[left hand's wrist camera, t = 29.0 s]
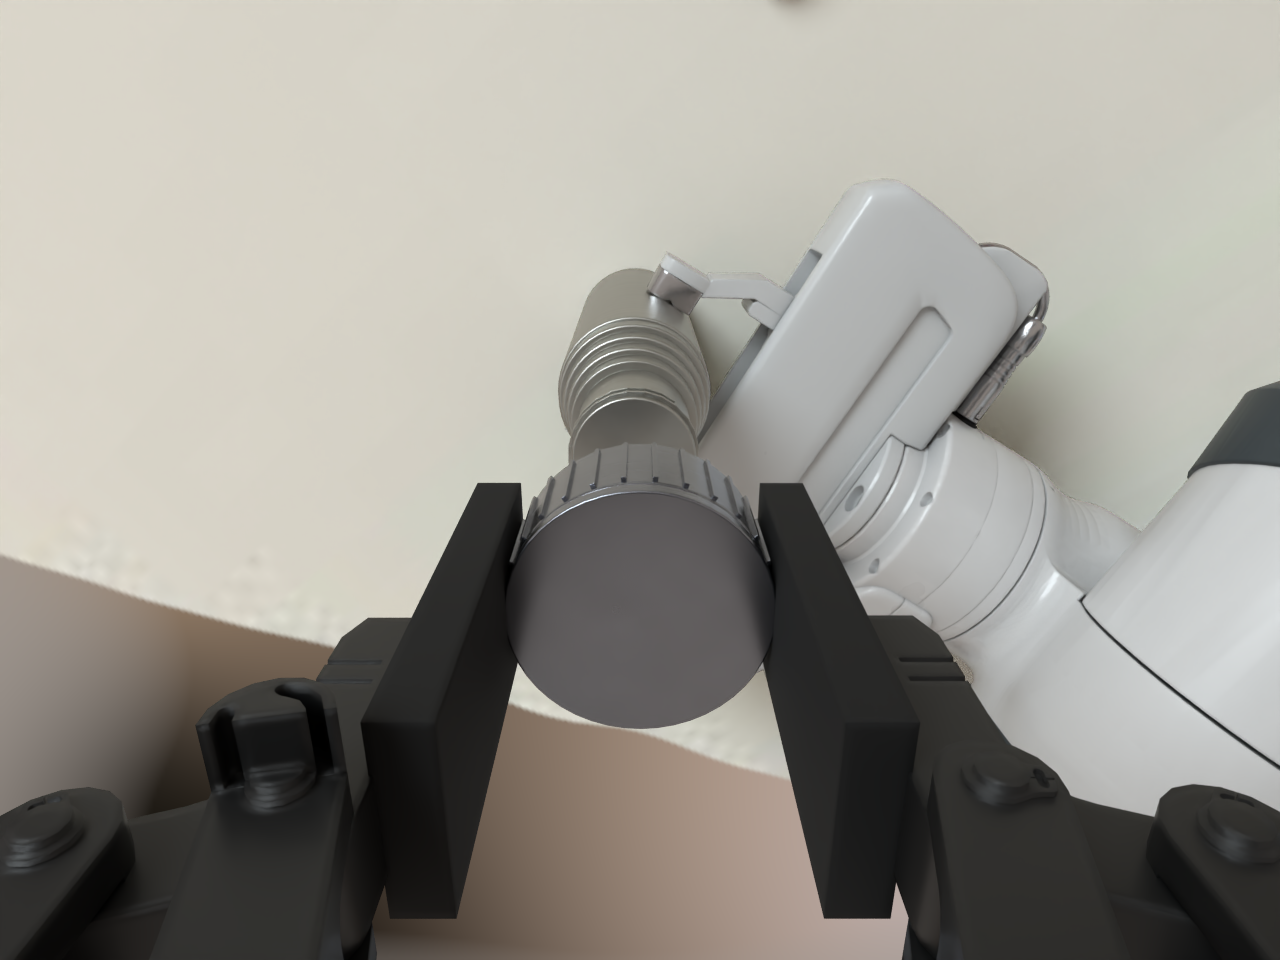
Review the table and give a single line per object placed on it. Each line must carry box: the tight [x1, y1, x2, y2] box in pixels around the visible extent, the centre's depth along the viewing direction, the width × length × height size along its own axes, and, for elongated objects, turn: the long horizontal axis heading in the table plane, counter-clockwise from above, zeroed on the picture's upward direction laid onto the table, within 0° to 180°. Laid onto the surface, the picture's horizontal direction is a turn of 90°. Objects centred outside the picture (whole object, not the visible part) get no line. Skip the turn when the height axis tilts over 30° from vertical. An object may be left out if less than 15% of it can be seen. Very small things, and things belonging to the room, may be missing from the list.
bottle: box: [558, 269, 710, 462], centre depth 29 cm, size 5×5×18 cm
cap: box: [505, 442, 776, 729], centre depth 14 cm, size 4×4×2 cm
